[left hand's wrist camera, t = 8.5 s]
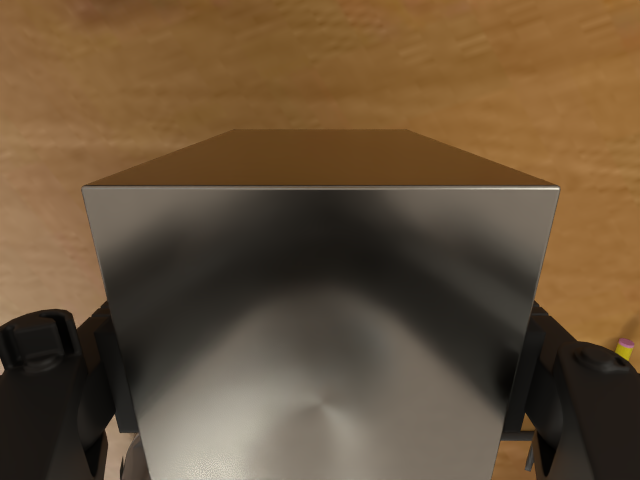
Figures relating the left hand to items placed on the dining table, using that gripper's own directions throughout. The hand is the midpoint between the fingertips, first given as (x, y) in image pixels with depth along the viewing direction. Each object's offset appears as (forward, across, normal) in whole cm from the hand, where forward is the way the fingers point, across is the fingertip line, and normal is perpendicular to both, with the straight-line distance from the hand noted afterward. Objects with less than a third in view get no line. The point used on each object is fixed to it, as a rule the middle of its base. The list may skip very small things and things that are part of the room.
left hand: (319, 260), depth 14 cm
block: (+4, 0, 0) cm, 4 cm away
